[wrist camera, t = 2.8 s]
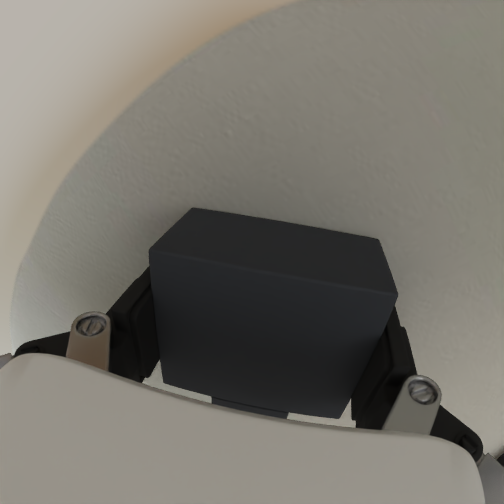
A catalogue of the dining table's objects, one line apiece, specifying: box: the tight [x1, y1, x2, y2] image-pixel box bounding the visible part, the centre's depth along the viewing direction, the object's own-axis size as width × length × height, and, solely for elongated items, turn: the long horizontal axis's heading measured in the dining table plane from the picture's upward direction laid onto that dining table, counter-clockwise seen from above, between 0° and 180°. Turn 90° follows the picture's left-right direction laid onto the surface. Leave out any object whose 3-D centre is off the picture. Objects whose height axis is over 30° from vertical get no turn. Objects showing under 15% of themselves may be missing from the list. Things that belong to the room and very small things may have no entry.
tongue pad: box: [149, 208, 398, 419], centre depth 12 cm, size 8×7×4 cm
